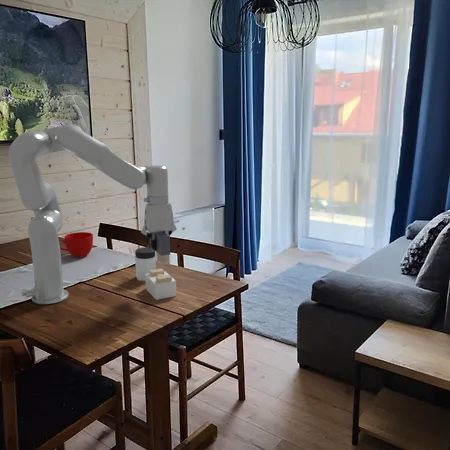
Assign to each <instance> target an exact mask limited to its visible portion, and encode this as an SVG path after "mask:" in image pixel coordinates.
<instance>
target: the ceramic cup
mask: <svg viewBox="0 0 450 450" xmlns="http://www.w3.org/2000/svg"><path fill="white" fill-rule="evenodd" d="M58 240H59V242H62V243H64V245H65V247H66V248H64V247H61V246H60V251H61V250H62V251H67V252H68V253H69V254H70V255H71V256H72V257H73V258H77V257H79V258H85V257H87V256H88V255H89V254H90V252H91V250H92V248H93V243H94V234H93V233H91V232H86V231H83V232H82V231H79V232H71V233H67V234H65V235H64V239H61V238H60V239H58ZM84 256H85V257H84Z"/></svg>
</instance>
